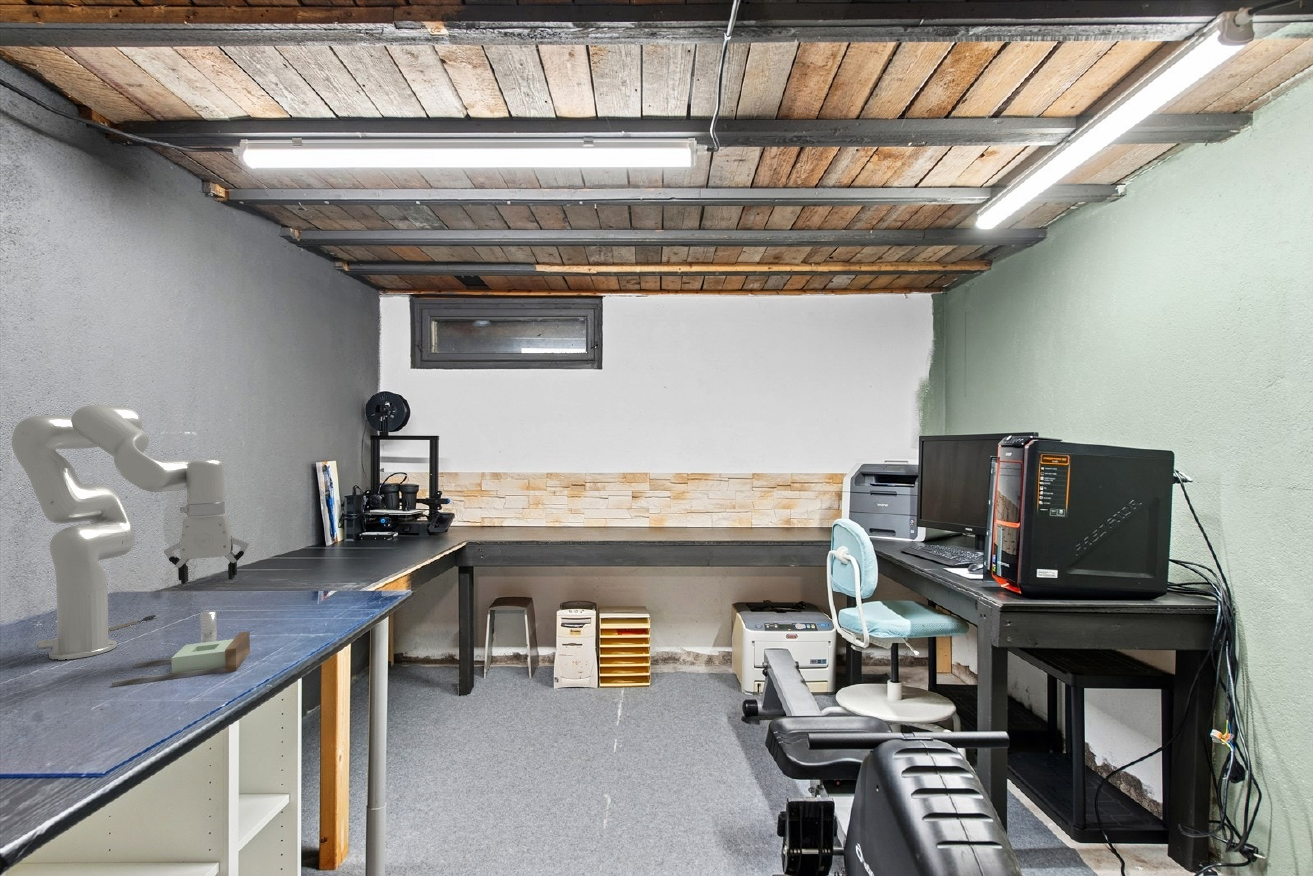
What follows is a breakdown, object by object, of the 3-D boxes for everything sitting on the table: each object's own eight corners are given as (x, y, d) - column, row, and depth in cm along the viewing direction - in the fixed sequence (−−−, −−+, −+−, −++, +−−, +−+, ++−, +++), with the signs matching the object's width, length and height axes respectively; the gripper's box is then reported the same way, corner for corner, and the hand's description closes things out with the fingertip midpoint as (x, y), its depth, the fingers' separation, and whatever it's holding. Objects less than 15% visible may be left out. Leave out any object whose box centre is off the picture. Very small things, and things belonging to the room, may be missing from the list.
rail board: (86, 697, 131) (85, 666, 131) (114, 674, 144) (113, 646, 144) (236, 676, 141) (235, 648, 141) (250, 657, 154) (249, 631, 154)
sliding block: (171, 676, 138) (171, 657, 138) (186, 662, 148) (185, 644, 148) (226, 669, 142) (226, 651, 142) (237, 655, 151) (236, 638, 151)
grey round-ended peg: (199, 656, 156) (198, 615, 156) (203, 652, 159) (202, 611, 159) (215, 654, 157) (214, 613, 157) (218, 651, 160) (217, 610, 160)
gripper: (158, 514, 151) (160, 588, 151) (244, 509, 158) (246, 579, 158) (168, 511, 158) (170, 582, 158) (250, 506, 165) (252, 574, 165)
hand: (208, 580), depth 158 cm, fingers open, 9 cm apart
